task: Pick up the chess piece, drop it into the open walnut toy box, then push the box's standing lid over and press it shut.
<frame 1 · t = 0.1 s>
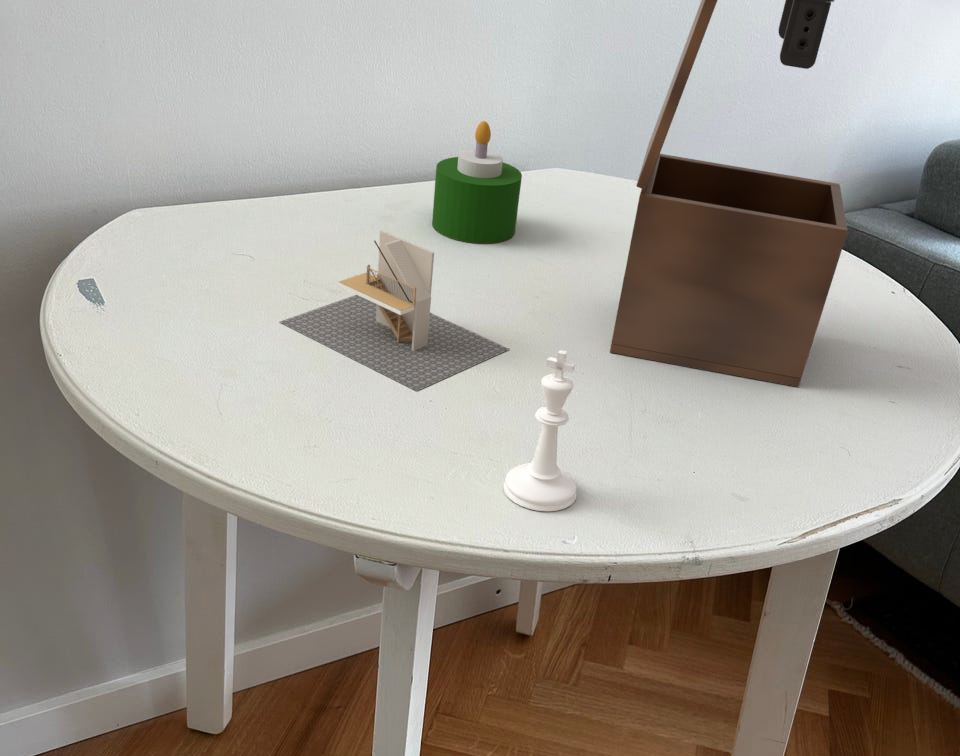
hand: (794, 52, 73), 24 cm above the table, tool pointing down, fingers open, 8 cm apart
chess piece: (539, 493, 74), on the table
lid: (687, 56, 82), point 21 cm above the table, hinge at 80.0°
architectural model: (394, 337, 90), on the table
toy box: (706, 341, 96), on the table
candle: (473, 229, 111), on the table
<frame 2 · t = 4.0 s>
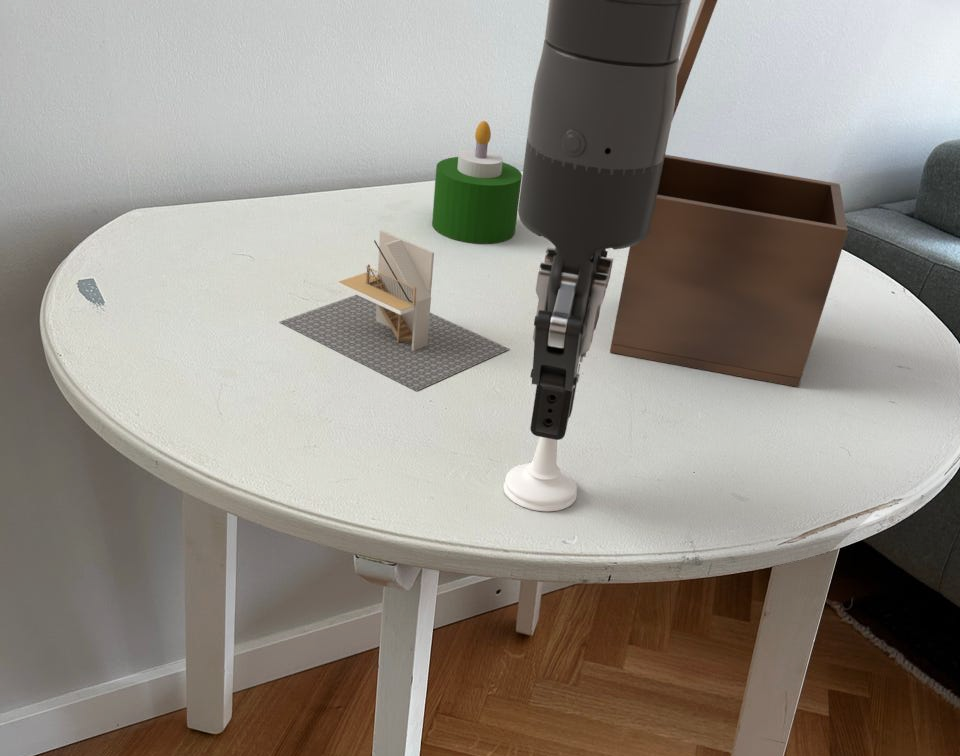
hand: (550, 424, 71), 5 cm above the table, tool pointing down, fingers closed on chess piece
chess piece: (539, 493, 74), on the table, touching gripper
everything else where it was.
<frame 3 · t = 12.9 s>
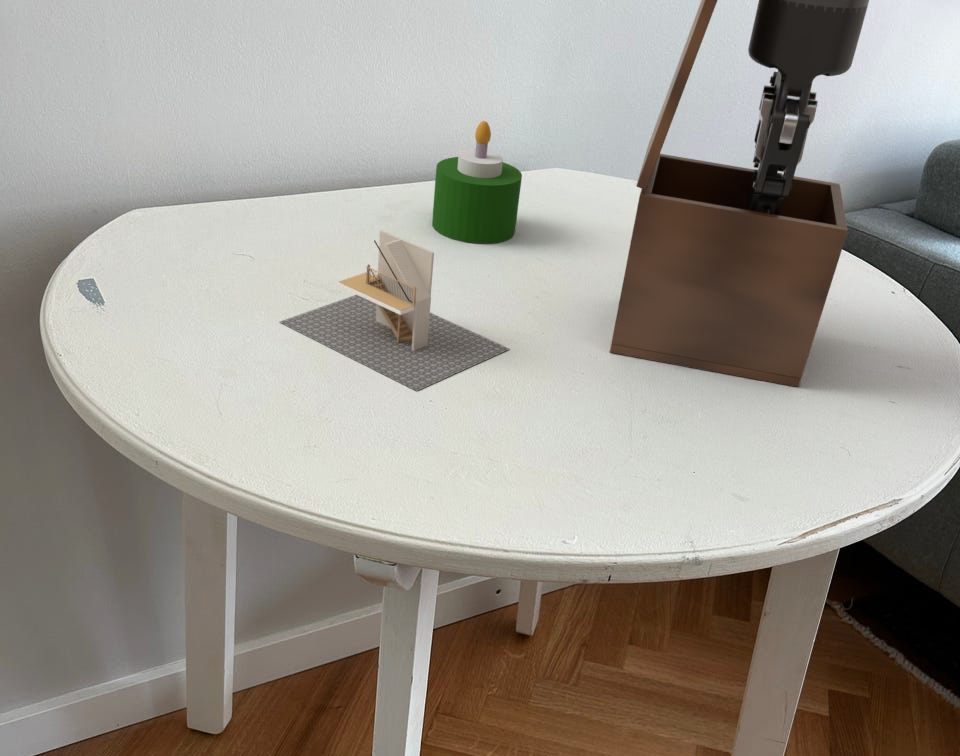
hand: (756, 230, 89), 10 cm above the table, tool pointing down, fingers open, 5 cm apart
chess piece: (725, 338, 95), point 1 cm above the table, touching toy box
everything else where it was.
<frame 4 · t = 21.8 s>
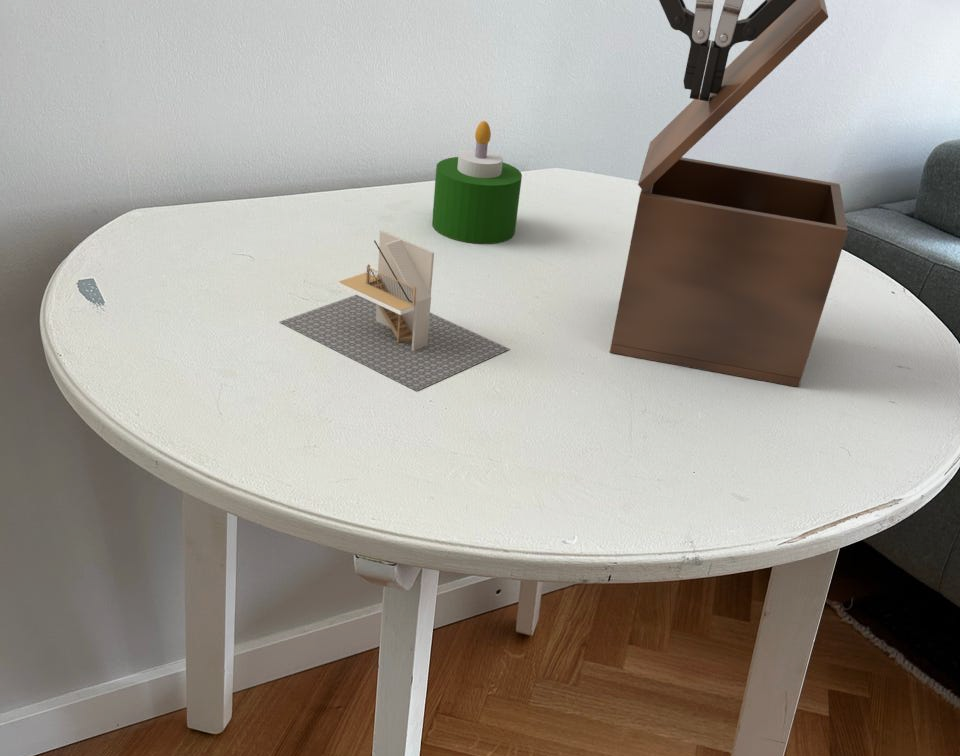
hand: (698, 97, 84), 19 cm above the table, tool pointing down, fingers closed
lid: (729, 86, 83), point 20 cm above the table, hinge at 53.0°, touching gripper
everything else where it was.
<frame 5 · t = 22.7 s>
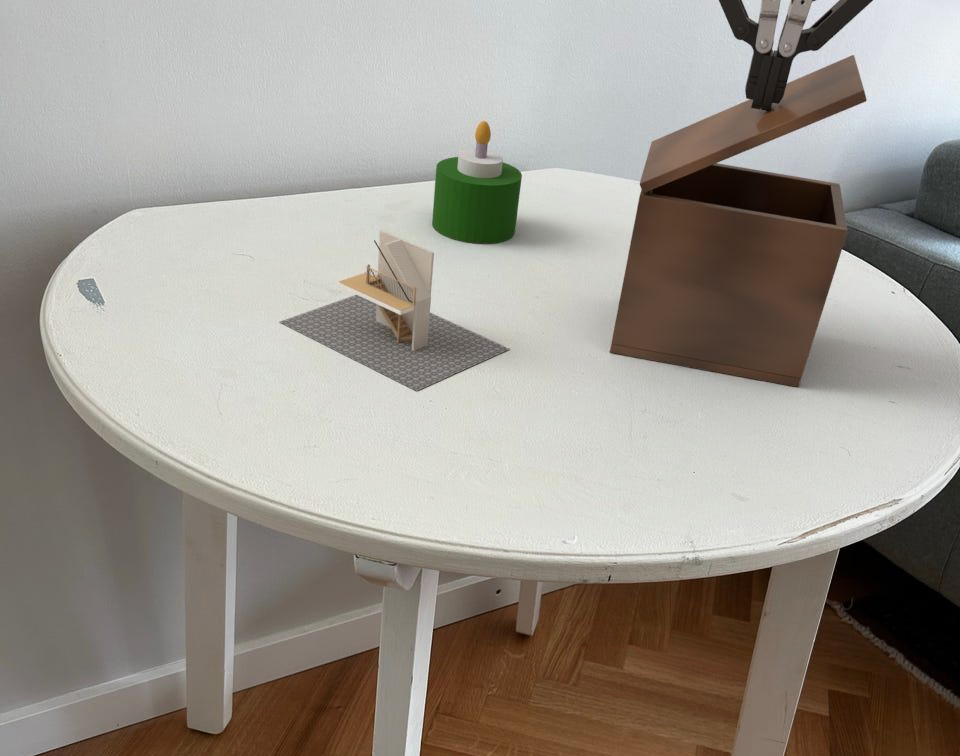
hand: (760, 107, 84), 19 cm above the table, tool pointing down, fingers closed
lid: (749, 123, 84), point 18 cm above the table, hinge at 31.5°
everything else where it was.
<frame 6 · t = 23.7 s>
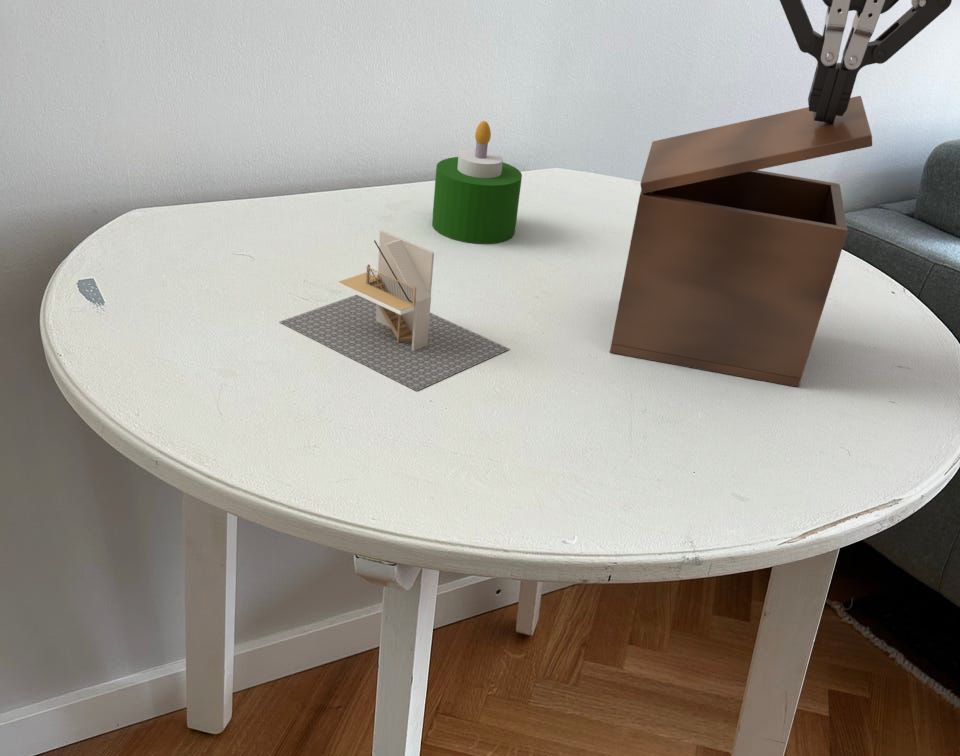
hand: (822, 119, 83), 19 cm above the table, tool pointing down, fingers closed
lid: (753, 143, 85), point 16 cm above the table, hinge at 20.9°, touching gripper
everything else where it was.
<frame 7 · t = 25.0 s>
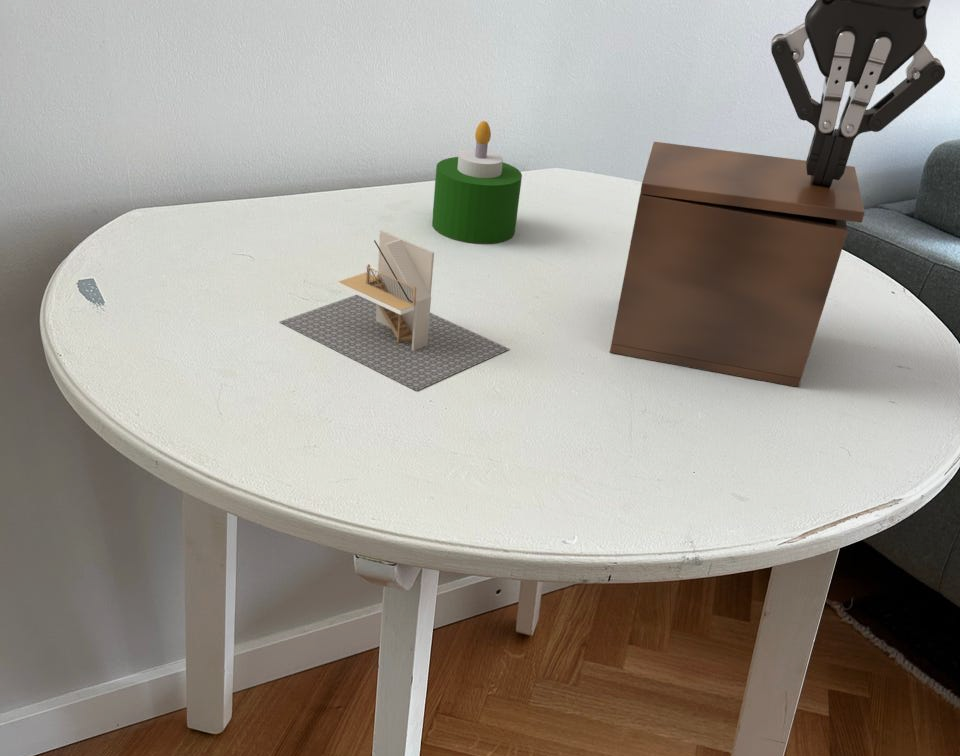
hand: (820, 182, 86), 14 cm above the table, tool pointing down, fingers closed
lid: (751, 179, 87), point 14 cm above the table, hinge at 2.2°, touching gripper
everything else where it was.
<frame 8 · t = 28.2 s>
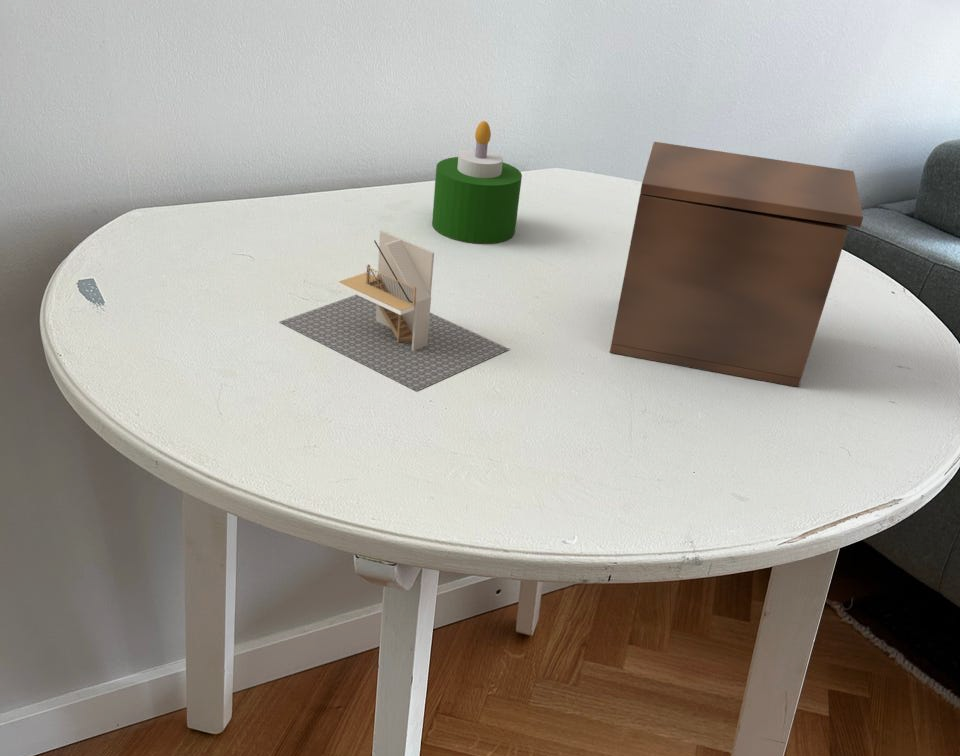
lid: (751, 182, 87), point 13 cm above the table, hinge at 1.0°
everything else where it was.
at the end: lid at +1° (first picture: +80°); chess piece inside the target area in the toy box (1.5 cm from its centre), point 0.6 cm above the toy box's base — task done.
